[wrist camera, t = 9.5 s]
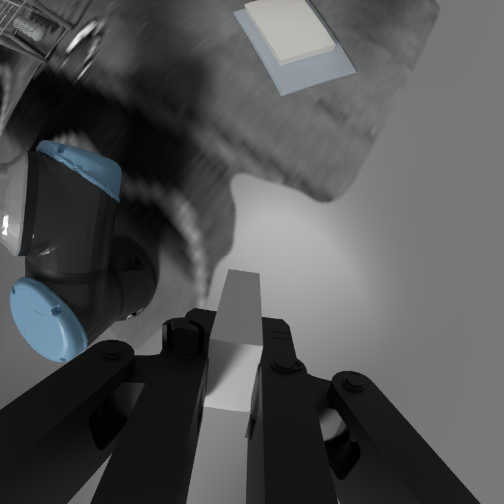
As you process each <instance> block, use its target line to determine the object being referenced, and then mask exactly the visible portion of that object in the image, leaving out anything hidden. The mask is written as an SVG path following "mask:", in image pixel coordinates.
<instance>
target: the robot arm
mask: <svg viewBox="0 0 504 504" xmlns="http://www.w3.org/2000/svg"><path fill="white" fill-rule="evenodd" d="M36 150H37V152H29V151H23V152H22V153H20V154H19V155H18V156H17V157H16V158H15V159H14V160H12V161H11V162H9V163H0V243H2V244H4V245H5V246H6V247H7V249H8V250H9V251H10V252H11V253H12V254H13V255H14V256H25V277H22V278H20V279H18V281H17V282H16V283H15V284H14V286H13V287H12V289H11V292H10V306H11V311H12V314H13V318H14V320H15V323H16V325H17V327H18V328H19V330H20V332H21V334H22V335H23V336H24V338H25V339H26V341H27V342H28V343H29V344H30V345H31V346H32V347H33V348H34V349H35V350H36V351H37V352H38V353H40V354H41V355H43V356H44V357H46V358H48V359H50V360H53V361H56V362H67V361H69V360H71V359H73V358H74V357H75V358H74V359H73V360H71V361H70V362H68V363H67V364H66V365H64V366H62V367H61V368H59V369H58V370H57V371H55V372H54V373H52V374H51V375H49V376H48V377H46V378H45V379H44V380H42V381H41V382H39V383H38V384H37V385H35V386H34V387H32V388H31V389H29V390H28V391H26V392H25V393H24V394H22V395H21V396H19V397H18V398H16V399H15V400H14V401H12V402H11V403H9V404H8V405H7V406H5V407H4V408H3V409H1V410H0V504H67V503H68V502H69V501H70V500H71V499H72V498H73V496H74V495H75V494H76V493H77V492H78V491H79V490H80V489H81V488H82V486H83V485H84V484H85V483H86V482H87V481H88V480H89V479H90V477H91V476H92V475H93V474H94V473H95V472H96V471H97V470H98V469H99V467H100V466H101V465H102V464H103V463H104V462H105V461H106V459H107V458H108V457H109V456H110V455H111V454H112V455H111V457H110V459H109V462H108V464H107V466H106V468H105V471H104V473H103V475H102V477H101V480H100V482H99V484H98V487H97V489H96V492H95V494H94V496H93V499H92V501H91V503H90V504H186V501H187V496H188V490H189V485H190V479H191V474H192V469H193V463H194V458H195V453H196V447H197V442H198V437H199V432H200V427H201V422H202V415H203V406H206V407H213V408H219V409H226V410H234V411H243V412H249V411H250V407H251V414H250V418H249V422H248V427H247V431H246V435H245V437H246V438H248V449H247V450H248V452H247V484H246V504H338V500H339V502H340V504H480V503H479V501H478V500H477V499H476V498H475V497H474V496H473V495H472V493H471V492H470V491H469V490H468V489H467V488H466V487H465V486H464V484H463V483H462V482H461V481H460V480H459V479H458V478H457V476H456V475H455V474H454V473H453V472H452V471H451V470H450V469H449V467H448V466H447V465H446V464H445V463H444V462H443V461H442V459H441V458H440V457H439V456H438V455H437V454H436V453H435V451H434V450H433V449H432V448H431V447H430V446H429V445H428V444H427V443H426V441H425V440H424V439H423V438H422V437H421V436H420V435H419V434H418V433H417V431H416V430H415V429H414V428H413V427H412V426H411V424H410V423H409V422H408V421H407V420H406V419H405V418H404V417H403V415H402V414H401V413H400V412H399V411H398V410H397V409H396V408H395V406H394V405H393V404H392V403H391V402H390V401H389V400H388V399H387V397H386V396H385V395H384V394H383V393H382V392H381V391H380V390H379V388H378V387H377V386H376V385H375V384H374V383H373V382H372V381H371V380H370V379H369V378H368V377H366V376H365V375H362V374H360V373H357V372H353V371H342V372H339V373H336V374H335V375H334V376H333V378H332V381H329V380H325V379H321V378H317V377H314V376H312V375H310V374H308V373H307V370H306V367H305V365H304V364H303V363H302V362H301V361H300V360H298V359H297V358H296V353H295V349H294V345H293V341H292V336H291V331H290V327H289V325H288V324H287V323H286V322H285V321H284V320H283V319H274V318H266V317H262V315H261V297H260V278H259V274H258V273H252V272H244V271H238V270H231V269H229V270H228V274H227V277H226V281H225V284H224V288H223V292H222V296H221V299H220V303H219V306H218V310H217V311H210V310H204V309H198V308H194V309H192V310H191V311H189V312H187V314H186V316H185V318H183V317H180V318H173V319H170V320H167V321H166V322H165V323H164V324H162V350H161V353H160V354H157V355H148V356H144V355H134V350H133V348H132V347H131V346H130V345H129V344H127V343H125V342H122V341H119V340H105V341H101V342H98V343H96V344H94V345H93V346H92V347H90V348H89V349H87V347H88V346H89V345H90V344H91V343H92V342H94V341H95V340H96V339H97V338H98V337H99V336H100V335H101V334H102V333H103V332H104V331H105V330H106V329H108V328H109V327H110V326H111V325H112V324H113V323H114V322H117V321H122V320H127V319H131V318H133V317H135V316H137V315H139V314H140V313H141V312H142V311H143V310H144V309H145V308H146V307H147V306H148V305H149V304H150V302H151V300H152V298H153V295H154V292H155V273H154V269H153V266H152V263H151V261H150V259H149V257H148V256H147V254H146V253H145V251H144V250H143V249H142V248H141V247H140V246H139V245H138V244H137V243H135V242H134V241H132V240H131V239H129V238H127V237H124V236H119V235H113V229H114V222H115V216H116V211H117V205H118V203H119V202H120V198H119V191H120V185H121V179H122V171H121V168H120V167H119V165H118V164H117V163H116V162H114V161H113V160H111V159H108V158H106V157H103V156H101V155H98V154H95V153H92V152H90V151H86V150H83V149H80V148H77V147H73V146H69V145H67V146H66V145H64V144H60V143H57V142H53V141H47V140H45V141H41V142H40V144H39V146H37V149H36ZM86 349H87V350H86ZM85 350H86V351H85ZM80 353H81V354H80ZM78 354H80V355H78ZM77 355H78V356H77ZM76 356H77V357H76ZM337 498H338V500H337Z"/></svg>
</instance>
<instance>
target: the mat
mask: <svg viewBox="0 0 504 504" xmlns="http://www.w3.org/2000/svg"><path fill="white" fill-rule="evenodd" d="M305 2H306V3H307V4H308V6H309V7H310V8H311V10H312V11H313V12H314V14H315V15H316V16H317V18H318V19H319V21H320V22H321V23H322V25H323V26H324V28H325V29H326V31H327V32H328V34H329V35H330V37H331V38H332V40H333V41H334V43H335V44H336V46H335V48H334V50H333V51H330V52H326V53H322V54H318V55H315V56H311V57H308V58H304V59H301V60H298V61H295V62H291V63H288V64H285V65H282V66H279V64H278V62H277V61H276V59H275V57H274V56H273V54H272V52H271V50H270V49H269V47H268V45H267V44H266V42H265V41H264V39H263V37H262V36H261V34H260V33H259V31H258V29H257V28H256V26H255V25H254V23H253V22H252V20H251V19H250V17H249V16H248V14H247V13H246V11H245V8H244V9H241V10H238V11H235V12H233V14H234V15H235V17H236V18H237V20H238V22H239V23H240V25H241V26H242V28H243V30H244V31H245V33H246V34H247V36H248V38H249V39H250V41H251V43H252V44H253V46H254V48H255V49H256V51H257V53H258V55H259V56H260V58H261V60H262V62H263V63H264V65H265V67H266V69H267V70H268V72H269V74H270V76H271V78H272V80H273V81H274V83H275V85H276V87H277V89H278V91H279V93H280V95H281V96H285V95H288V94H291V93H293V92H296V91H299V90H302V89H305V88H308V87H311V86H314V85H317V84H321V83H324V82H327V81H330V80H334V79H337V78H341V77H344V76H348V75H352V74H355V73H357V72H356V70H355V69H354V67H353V65H352V63H351V62H350V60H349V58H348V57H347V55H346V53H345V52H344V50H343V49H342V47H341V45H340V44H339V42H338V41H337V39H336V38H335V36H334V35H333V33H332V32H331V30H330V29H329V27H328V26H327V25H326V23H325V22H324V20H323V19H322V17H321V16H320V15H319V13H318V12H317V11H316V9H315V8H314V7H313V5H312V4H311V3H310V1H309V0H305Z"/></svg>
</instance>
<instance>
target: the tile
mask: <svg viewBox="0 0 504 504" xmlns="http://www.w3.org/2000/svg"><path fill="white" fill-rule="evenodd" d="M244 5H245V11H246V13H247V14H248V16H249V17H250V19H251V20H252V22H253V23H254V25H255V26H256V28H257V29H258V31H259V33H260V34H261V36H262V37H263V39H264V41H265V42H266V44H267V45H268V47H269V49H270V50H271V52H272V54H273V56H274V57H275V59H276V61H277V62H278V64H279V66H282V65H285V64H288V63H291V62H295V61H298V60H301V59H304V58H308V57H311V56H315V55H318V54H322V53H326V52H330V51H333V50H334V48H335V46H336V44H335V43H334V41H333V40H332V38H331V37H330V35H329V34H328V32H327V31H326V29H325V28H324V26H323V25H322V23H321V22H320V21H319V19H318V18H317V16H316V15H315V14H314V12H313V11H312V10H311V8H310V7H309V6H308V4H307V3H306V2H305V0H257V1H253V2H250V3H247V4H244Z"/></svg>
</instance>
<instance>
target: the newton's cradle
mask: <svg viewBox="0 0 504 504" xmlns="http://www.w3.org/2000/svg"><path fill="white" fill-rule="evenodd" d="M4 1H7V2H9V3H8V4H9V5H10V3H12V4H14V5H16V6H19V7H20V8H19V9H17V8H16V7H15V6H14V5H13V6H14V7H15V8H16V9H17V11H16V10H15V9H14V8H13V6H11V5H10V6H11V7H10V6H9V5H8V4H7V3H6V2H5V3H6V4H7V5H8V6H9V7H10V8H11V9H12V8H13V9H14V10H15V11H16V13H15V12H14V13H15V14H14V13H13V12H12V11H11V10H10V9H9V8H8V9H9V10H10V11H11V12H12V13H13V14H14V15H13V14H12V13H11V12H10V11H9V10H8V9H7V8H6V7H5V6H4V7H5V8H6V9H7V10H8V12H10V13H11V14H12V15H13V17H12V18H11V19H7V20H10V21H9V22H5V23H7V24H6V26H5V28H4V29H2V28H1V27H0V36H1V34H4V35H6V36H8V37H10V38H11V39H13V40H14V41H15V42H17V43H18V44H19V45H21V46H22V47H23V48H22V47H20V46H18V45H16V44H14V43H12V42H9V41H7V40H5V39H3V38H1V37H0V44H2V45H4V46H6V47H9V48H11V49H13V50H15V51H18V52H20V53H22V54H24V55H27V56H29V57H31V58H33V59H35V60H37V61H39V62H41V63H46V62H47V59H46V58H47V57H48V55H49V54H50V53H51V51H52V50H53V49H54V47H55V46H56V45H57V43H58V42H59V41H60V39H61V38H62V37H63V36H64V35H65V33H66V32H67V31H68V30H72V29H73V26H72V25H70V24H69V23H68V22H66V21H65V20H64V19H62V18H61V17H59V16H58V15H57V14H55V13H54V12H52V11H51V10H50V9H48V8H47V7H45V6H44V5H42V4H41V3H39V2H38V1H36V0H23V1H25V2H22V1H21V0H12V1H14V2H16V3H14V2H12V1H9V0H4ZM0 2H1V1H0ZM2 2H3V1H2ZM26 2H28V3H30V4H32V5H33V6H35V7H36V8H38V9H39V10H41V11H42V12H41V11H39V10H36V9H34V8H32V7H30V6H29V5H27V4H25V3H26ZM3 3H4V2H3ZM5 3H4V4H5ZM17 3H18V4H17ZM6 4H5V5H6ZM7 5H6V6H7ZM22 6H23V7H24V8H26V9H28V10H29V11H31V12H33V13H36V14H38V15H40V16H42V17H44V18H46V19H48V20H50V21H52V22H54V23H56V24H58V25H60V26H62V27H64V28H66V29H67V30H66V31H65V32H64V34H63V35H62V36H61V37H60V39H59V40H58V41H57V42H56V44H55V45H54V46H53V48H52V49H51V50H50V52H49V53H48V54H47V56H46V57H43V56H42V55H40V54H39V53H38V52H36V51H35V50H34V49H32V48H31V47H29V46H28V45H27V44H25V43H24V42H22V41H21V40H20V39H18V38H17V37H15V36H14V35H15V33H16V32H17V31H18V29H19V30H20V31H23V33H24V34H27V35H28V36H29V37H33V39H34V40H36V41H39V40H42V39H43V38H44V37H45V36H46V33H47V29H46V28H45V27H43V26H40V24H38V23H35V22H34V21H30V19H28V18H27V17H28V16H29V15H30V14H31V12H30V13H29V15H28V16H27V17H26V18H25V17H24V16H23V15H22V14H21V12H20V11H19V10H20V9H21V7H22ZM13 9H12V10H13ZM14 10H13V11H14ZM18 11H19V12H20V14H21V15H22V16H21V15H20V14H19V13H18ZM2 12H3V11H2ZM43 12H44V13H43ZM17 13H18V14H19V15H20V16H18V15H17ZM16 15H17V16H18V17H17V16H16ZM5 16H6V15H5ZM15 16H16V17H17V18H16V17H15ZM14 17H15V18H16V19H15V20H12V19H13V18H14ZM3 19H5V18H2V19H0V20H3ZM7 20H4V21H7ZM11 20H12V21H14V23H10V22H12V21H11ZM1 22H3V21H0V24H4V23H1ZM9 23H10V24H13V25H11V26H14V27H11V28H16V29H17V30H16V32H15V33H14V35H12V34H11V33H9V32H7V31H5V29H6V27H9V26H8V25H9ZM0 26H4V25H0ZM24 48H25V49H24Z"/></svg>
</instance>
